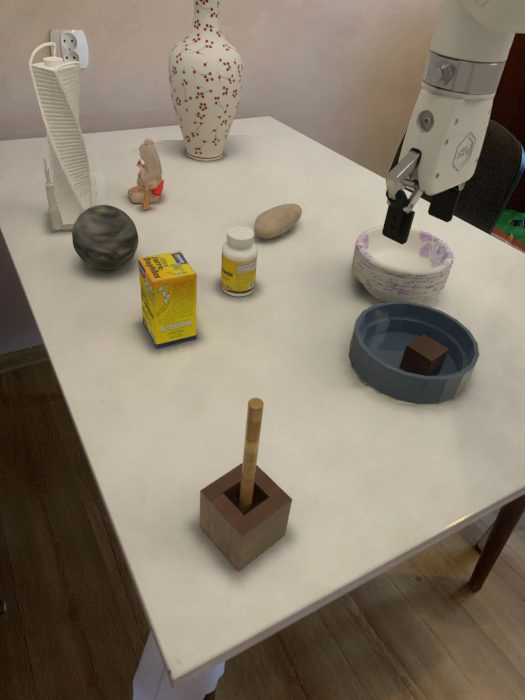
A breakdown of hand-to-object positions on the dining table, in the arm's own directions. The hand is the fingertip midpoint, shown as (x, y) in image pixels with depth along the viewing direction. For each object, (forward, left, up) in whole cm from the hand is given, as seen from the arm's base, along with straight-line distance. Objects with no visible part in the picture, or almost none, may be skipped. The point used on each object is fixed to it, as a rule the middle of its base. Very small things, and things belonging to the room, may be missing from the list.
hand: (417, 228), depth 66 cm
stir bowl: (-5, +1, -18) cm, 19 cm away
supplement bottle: (+23, +8, -19) cm, 31 cm away
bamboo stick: (-10, +35, -18) cm, 41 cm away
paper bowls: (+8, -13, -19) cm, 24 cm away
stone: (+33, -10, -19) cm, 39 cm away
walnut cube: (-7, +1, -18) cm, 19 cm away
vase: (+71, -22, -19) cm, 77 cm away
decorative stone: (+40, +21, -19) cm, 49 cm away
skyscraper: (+57, +18, -19) cm, 63 cm away
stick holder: (-10, +35, -18) cm, 41 cm away
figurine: (+57, +3, -19) cm, 60 cm away
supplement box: (+20, +23, -19) cm, 36 cm away
